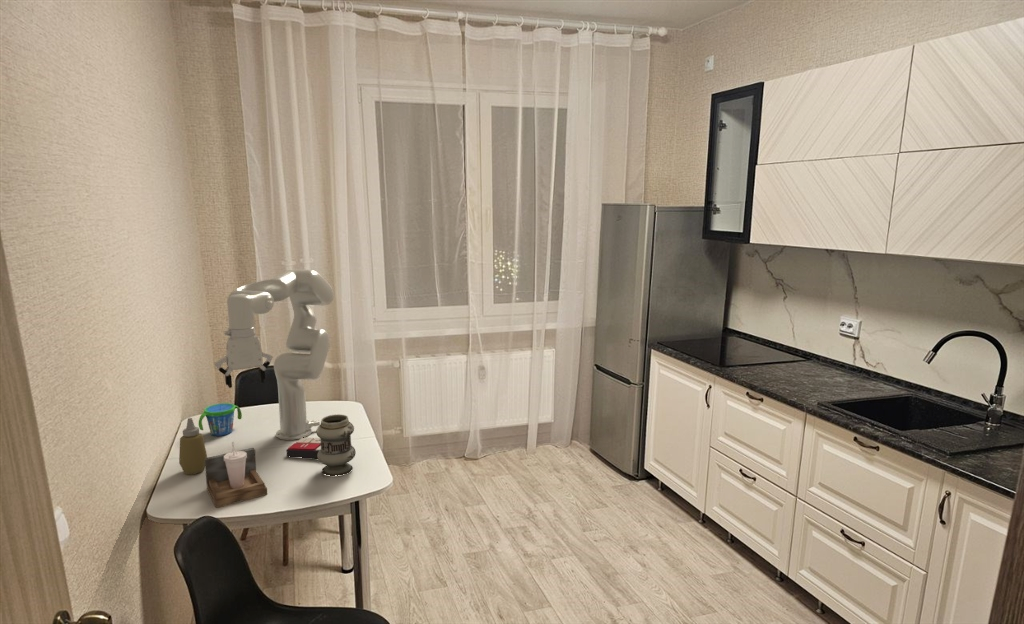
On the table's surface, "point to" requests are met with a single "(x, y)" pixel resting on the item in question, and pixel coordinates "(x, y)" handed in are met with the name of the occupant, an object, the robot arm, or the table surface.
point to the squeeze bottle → (192, 450)
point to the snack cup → (220, 418)
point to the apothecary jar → (335, 444)
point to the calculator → (305, 448)
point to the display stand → (221, 485)
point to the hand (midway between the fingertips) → (245, 384)
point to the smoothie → (236, 467)
